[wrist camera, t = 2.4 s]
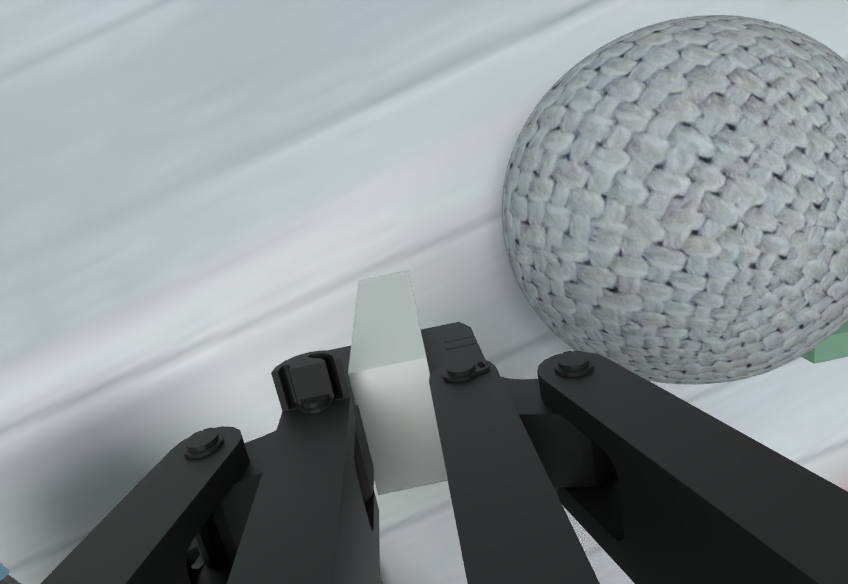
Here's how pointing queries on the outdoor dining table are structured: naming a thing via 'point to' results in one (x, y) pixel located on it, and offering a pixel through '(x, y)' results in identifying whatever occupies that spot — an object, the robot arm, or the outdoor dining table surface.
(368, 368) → the robot arm
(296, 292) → the outdoor dining table surface
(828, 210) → the decorative ball
